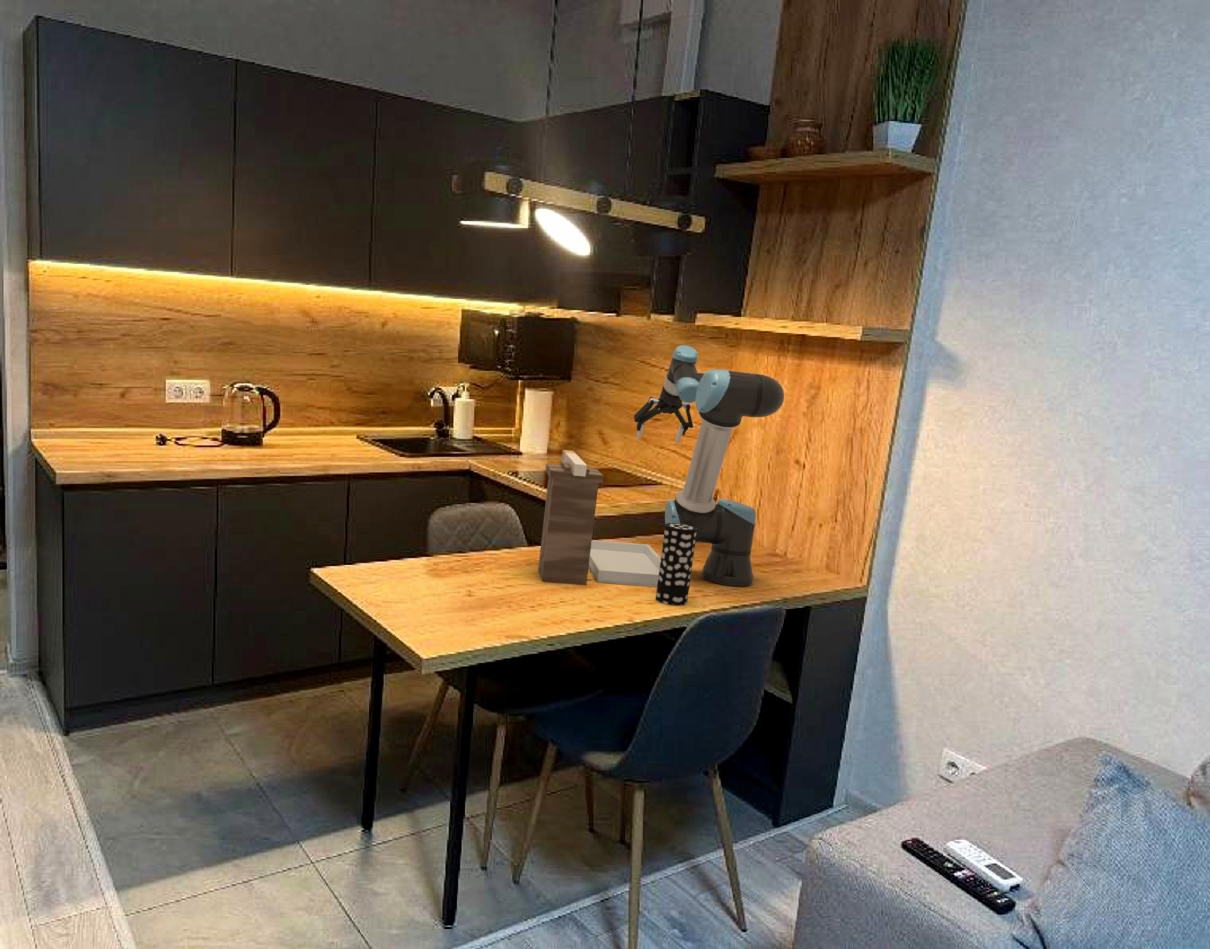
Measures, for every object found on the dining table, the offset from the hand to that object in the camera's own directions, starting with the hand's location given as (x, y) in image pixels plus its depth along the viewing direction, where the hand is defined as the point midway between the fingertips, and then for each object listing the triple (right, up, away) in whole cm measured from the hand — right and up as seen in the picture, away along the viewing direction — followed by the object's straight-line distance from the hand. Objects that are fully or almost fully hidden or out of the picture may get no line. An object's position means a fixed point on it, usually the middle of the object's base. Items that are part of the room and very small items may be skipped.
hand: (657, 439), depth 312 cm
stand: (-30, -40, -59) cm, 77 cm away
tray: (-12, -39, -39) cm, 57 cm away
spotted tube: (0, -45, -69) cm, 83 cm away
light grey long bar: (-26, -10, -60) cm, 67 cm away
